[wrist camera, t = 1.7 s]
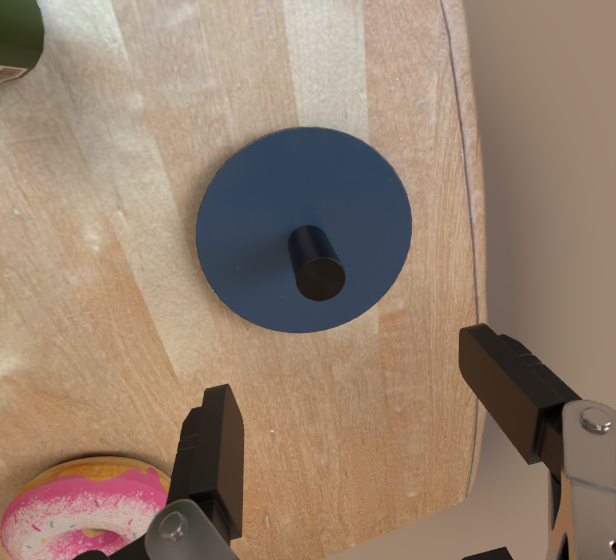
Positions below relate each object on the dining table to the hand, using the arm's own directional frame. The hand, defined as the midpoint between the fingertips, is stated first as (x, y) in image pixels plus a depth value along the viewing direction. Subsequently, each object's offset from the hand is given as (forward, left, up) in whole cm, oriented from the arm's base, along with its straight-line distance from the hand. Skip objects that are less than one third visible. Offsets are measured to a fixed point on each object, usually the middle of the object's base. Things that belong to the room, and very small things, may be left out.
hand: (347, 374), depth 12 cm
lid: (0, 0, -13) cm, 13 cm away
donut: (+20, -22, -13) cm, 32 cm away
